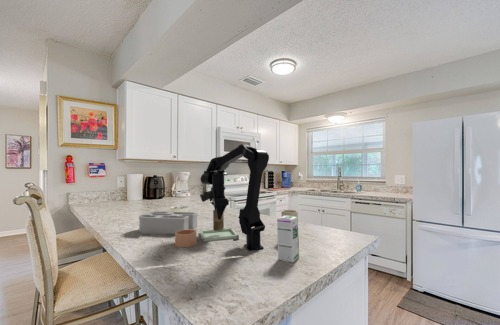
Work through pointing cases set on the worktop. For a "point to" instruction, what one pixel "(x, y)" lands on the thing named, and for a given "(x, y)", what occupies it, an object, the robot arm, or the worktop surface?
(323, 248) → the worktop surface
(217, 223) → the pepper mill
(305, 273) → the worktop surface
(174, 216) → the ice cube tray
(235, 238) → the tray
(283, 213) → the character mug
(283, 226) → the syrup box
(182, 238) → the utensil pot
